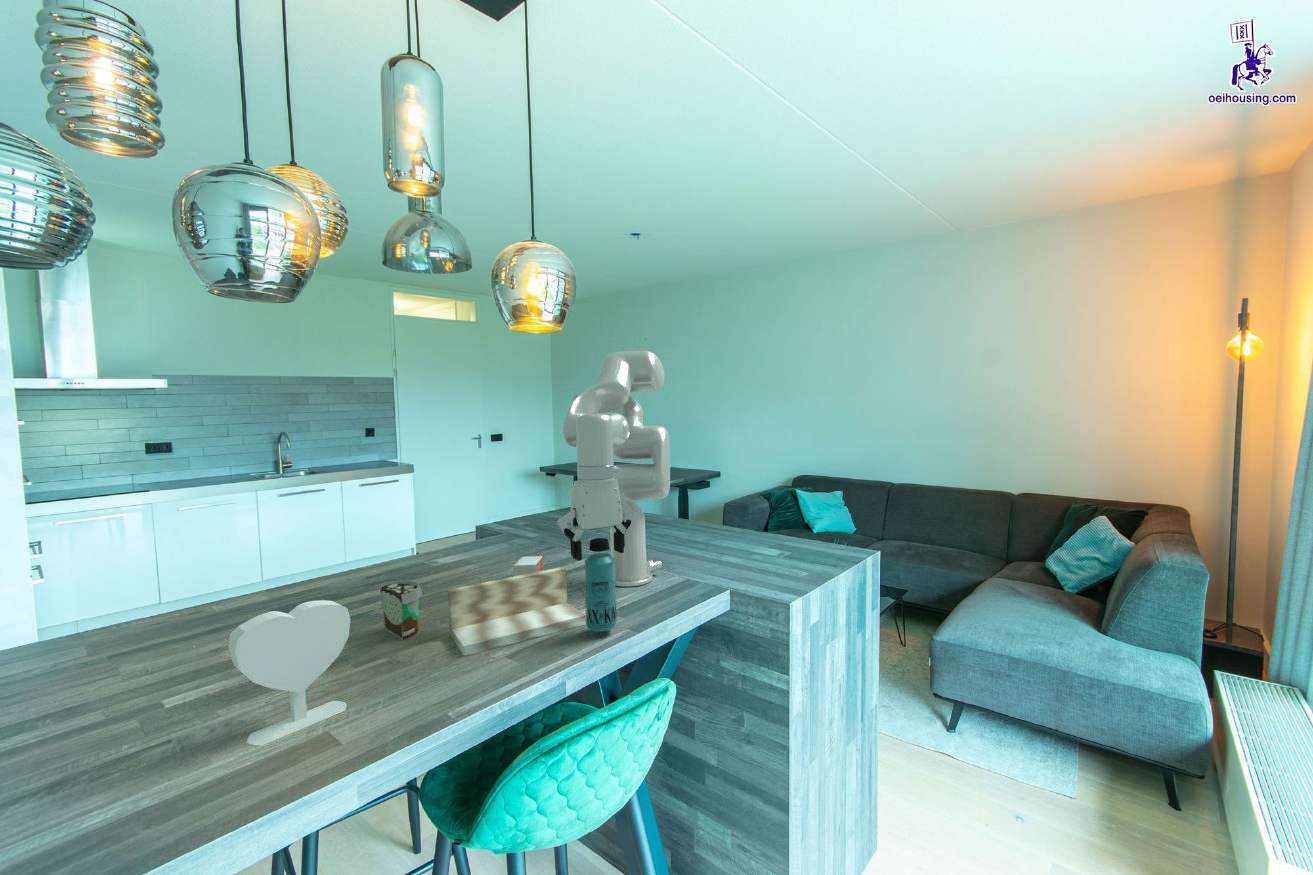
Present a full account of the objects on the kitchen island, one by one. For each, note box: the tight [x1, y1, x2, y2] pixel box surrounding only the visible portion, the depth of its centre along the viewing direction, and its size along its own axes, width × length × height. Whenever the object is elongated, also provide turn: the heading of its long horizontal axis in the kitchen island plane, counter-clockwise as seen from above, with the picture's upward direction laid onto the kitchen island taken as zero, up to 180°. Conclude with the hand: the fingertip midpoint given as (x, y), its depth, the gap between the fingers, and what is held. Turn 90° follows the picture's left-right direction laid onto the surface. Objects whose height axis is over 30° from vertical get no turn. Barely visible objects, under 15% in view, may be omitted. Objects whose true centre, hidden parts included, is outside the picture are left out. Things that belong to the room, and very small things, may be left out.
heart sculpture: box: [227, 599, 351, 747], centre depth 87 cm, size 16×5×18 cm, turn 140°
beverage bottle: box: [584, 537, 618, 632], centre depth 118 cm, size 6×7×20 cm
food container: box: [379, 580, 423, 641], centre depth 123 cm, size 12×6×10 cm, turn 47°
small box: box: [513, 555, 545, 577], centre depth 137 cm, size 8×6×10 cm
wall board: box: [447, 566, 587, 657], centre depth 121 cm, size 26×12×10 cm, turn 122°
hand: (598, 555), depth 117 cm, fingers open, 9 cm apart
